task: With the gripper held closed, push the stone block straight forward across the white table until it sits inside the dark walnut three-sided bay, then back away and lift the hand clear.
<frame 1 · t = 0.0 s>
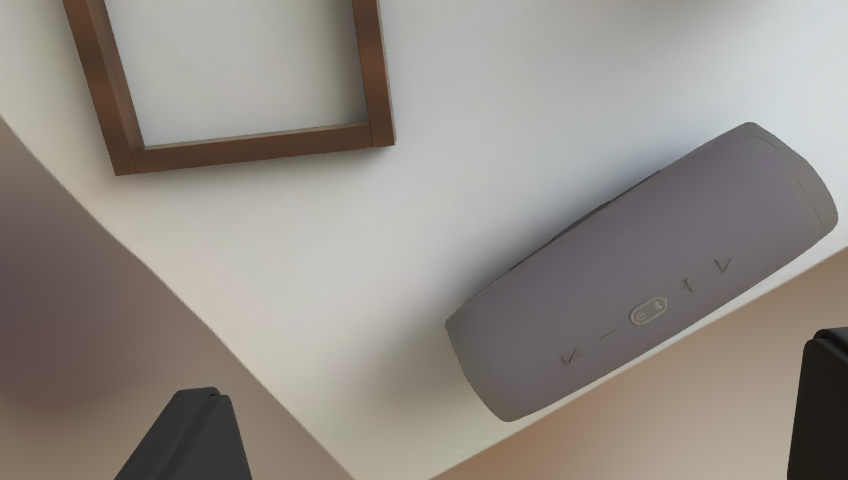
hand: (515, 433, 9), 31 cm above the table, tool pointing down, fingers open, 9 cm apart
bay: (236, 34, 36), on the table
bluetooth speaker: (598, 249, 42), on the table
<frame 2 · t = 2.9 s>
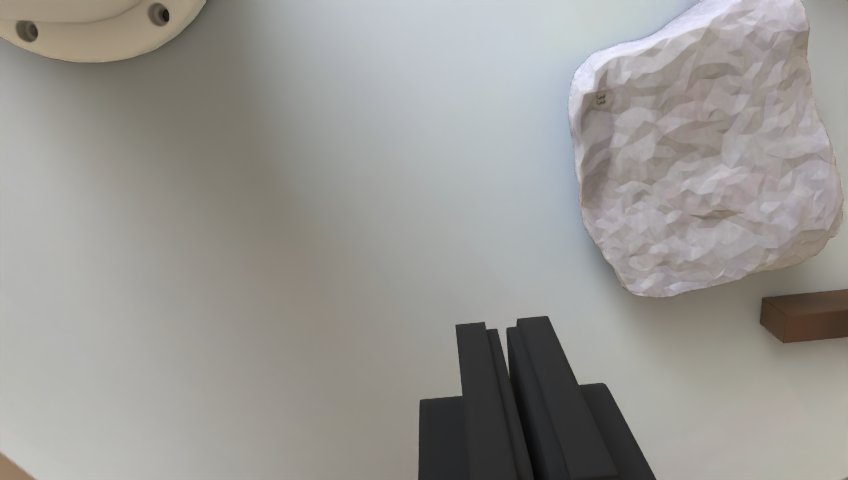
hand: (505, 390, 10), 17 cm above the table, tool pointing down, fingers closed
stone block: (666, 151, 26), on the table
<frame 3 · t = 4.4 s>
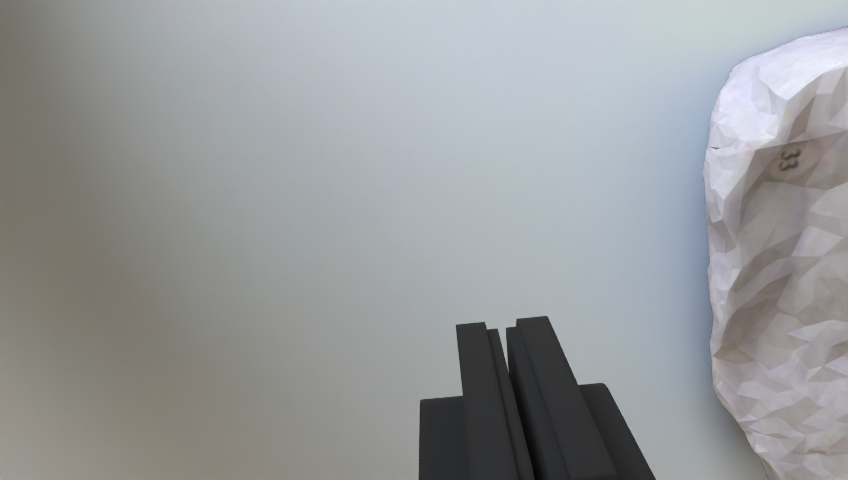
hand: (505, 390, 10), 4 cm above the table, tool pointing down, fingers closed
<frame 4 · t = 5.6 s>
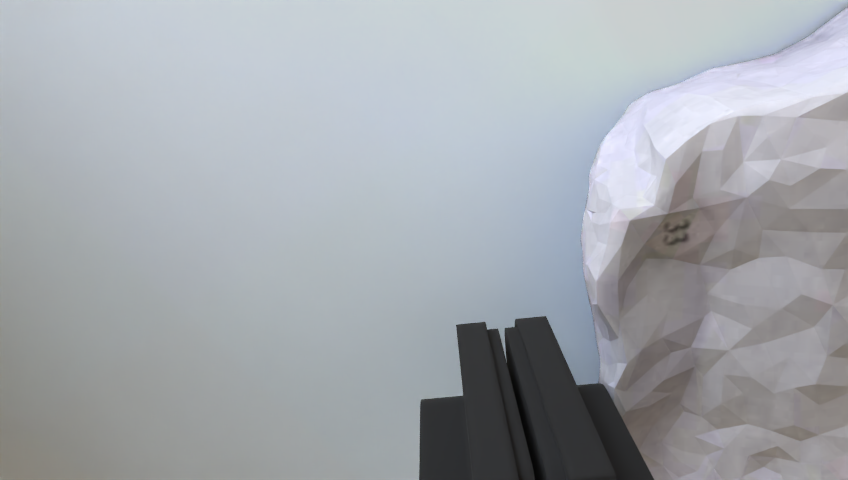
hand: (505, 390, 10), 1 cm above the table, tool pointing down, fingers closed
stone block: (800, 306, 12), on the table, touching gripper
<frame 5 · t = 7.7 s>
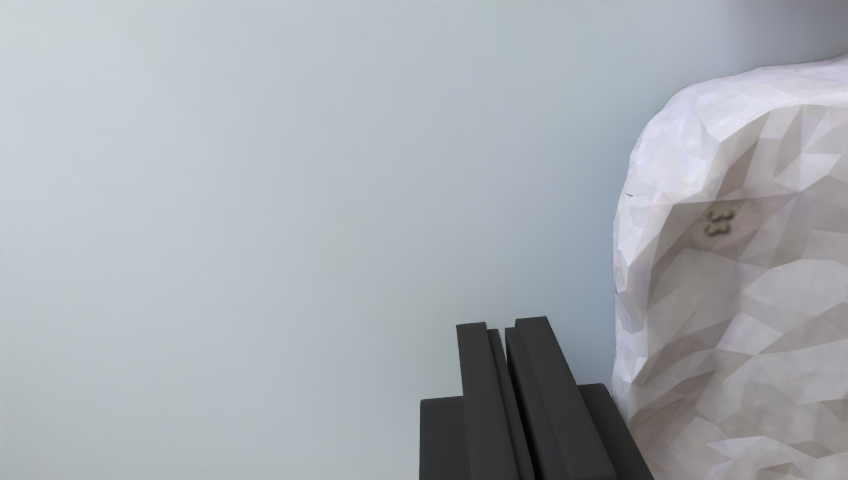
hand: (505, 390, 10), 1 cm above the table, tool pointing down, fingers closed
stone block: (817, 326, 11), on the table, touching gripper
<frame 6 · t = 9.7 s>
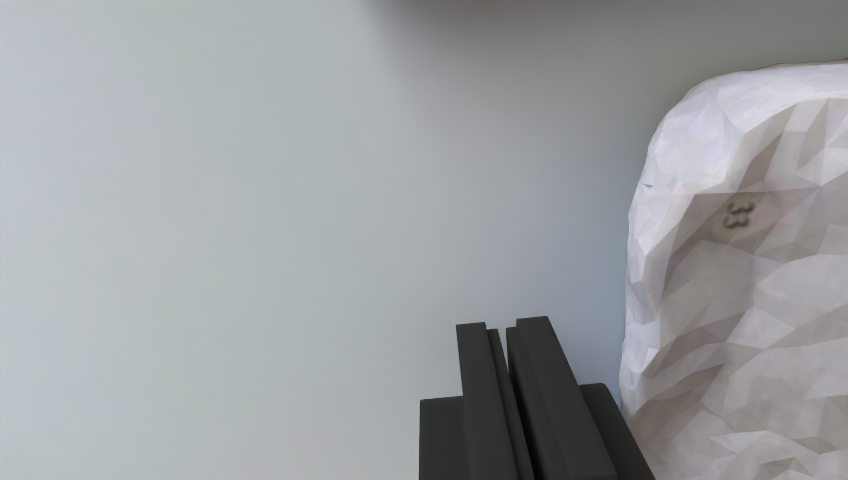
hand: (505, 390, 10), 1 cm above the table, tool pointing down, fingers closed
stone block: (816, 325, 11), on the table
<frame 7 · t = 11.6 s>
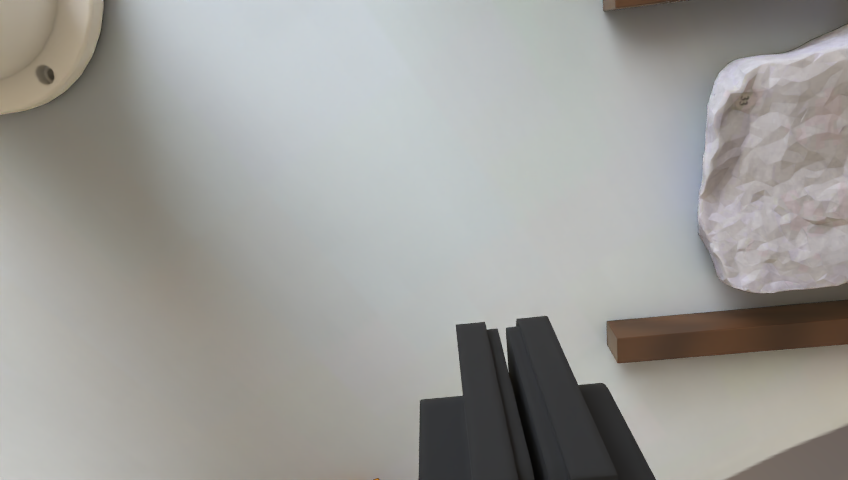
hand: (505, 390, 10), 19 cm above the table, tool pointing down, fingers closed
bay: (767, 163, 28), on the table
stone block: (778, 162, 28), on the table
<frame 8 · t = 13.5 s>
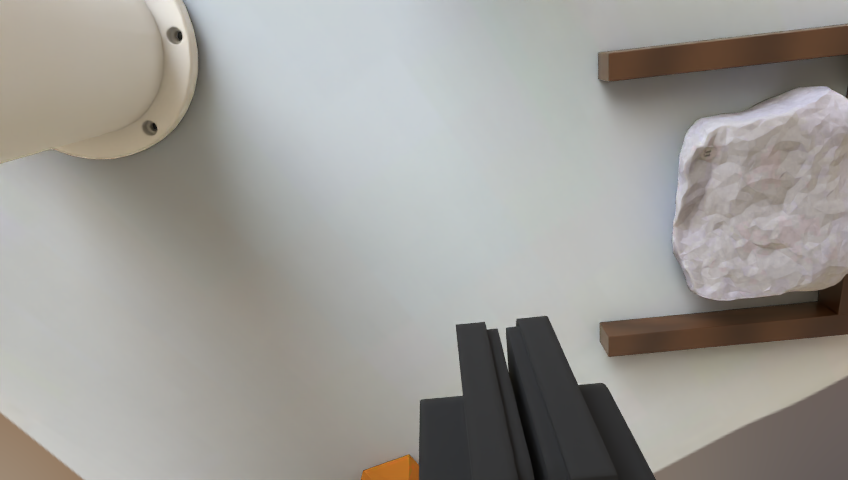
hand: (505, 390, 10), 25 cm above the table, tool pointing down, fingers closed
bay: (727, 196, 35), on the table
stone block: (736, 195, 35), on the table
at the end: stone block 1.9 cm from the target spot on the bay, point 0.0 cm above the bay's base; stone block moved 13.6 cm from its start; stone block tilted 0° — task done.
